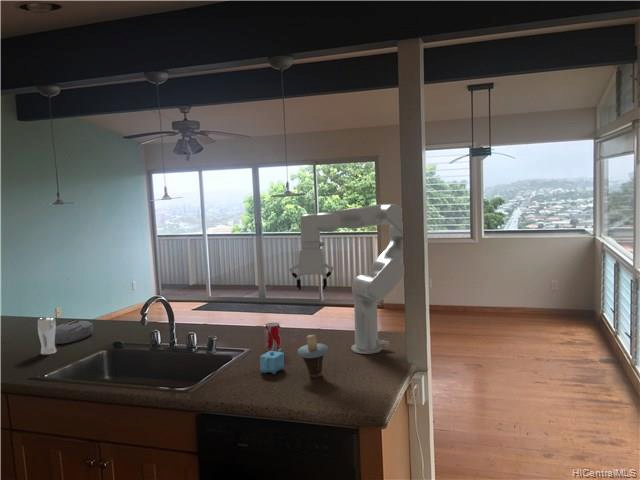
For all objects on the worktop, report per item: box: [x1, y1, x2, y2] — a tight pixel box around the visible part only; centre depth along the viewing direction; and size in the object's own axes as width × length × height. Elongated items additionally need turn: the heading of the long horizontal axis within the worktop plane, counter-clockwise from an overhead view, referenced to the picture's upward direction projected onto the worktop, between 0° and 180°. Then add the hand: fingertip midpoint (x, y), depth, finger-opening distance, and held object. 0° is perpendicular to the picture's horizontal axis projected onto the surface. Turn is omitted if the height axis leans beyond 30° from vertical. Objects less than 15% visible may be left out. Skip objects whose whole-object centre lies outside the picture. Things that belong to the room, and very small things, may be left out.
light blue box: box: [259, 348, 285, 375], centre depth 187 cm, size 12×6×8 cm, turn 156°
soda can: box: [263, 322, 283, 353], centre depth 209 cm, size 7×7×12 cm
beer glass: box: [37, 316, 58, 356], centre depth 216 cm, size 7×7×15 cm
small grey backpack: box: [55, 319, 94, 345], centre depth 238 cm, size 15×8×20 cm
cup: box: [301, 355, 325, 379], centre depth 179 cm, size 8×8×9 cm
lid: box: [297, 334, 329, 359], centre depth 178 cm, size 11×11×6 cm
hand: (312, 288), depth 197 cm, fingers open, 9 cm apart
